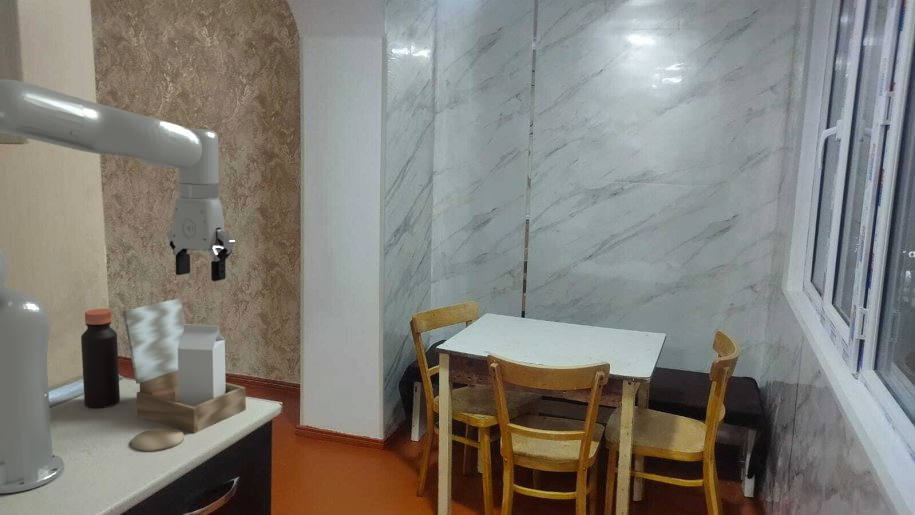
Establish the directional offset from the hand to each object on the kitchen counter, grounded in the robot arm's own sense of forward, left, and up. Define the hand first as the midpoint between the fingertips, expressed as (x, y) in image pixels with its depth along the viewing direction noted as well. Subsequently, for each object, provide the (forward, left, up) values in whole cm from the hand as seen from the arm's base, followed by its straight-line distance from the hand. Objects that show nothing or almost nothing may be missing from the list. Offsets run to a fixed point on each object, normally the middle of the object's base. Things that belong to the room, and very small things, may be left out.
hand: (200, 276), depth 141 cm
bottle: (-7, +22, -29) cm, 37 cm away
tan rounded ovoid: (-5, +6, -29) cm, 30 cm away
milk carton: (0, 0, -29) cm, 29 cm away
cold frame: (-1, +3, -29) cm, 29 cm away
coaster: (-14, -3, -29) cm, 32 cm away
